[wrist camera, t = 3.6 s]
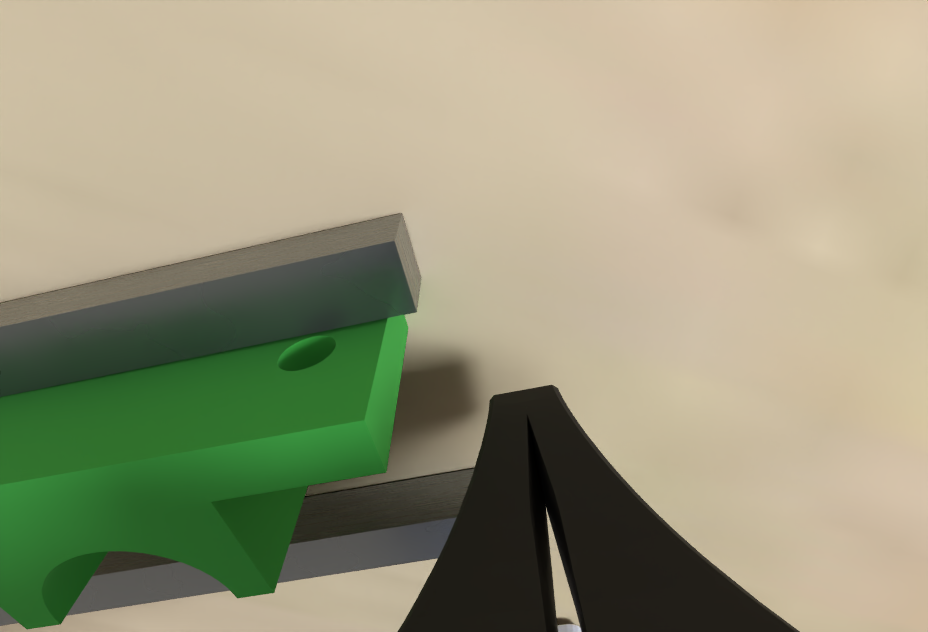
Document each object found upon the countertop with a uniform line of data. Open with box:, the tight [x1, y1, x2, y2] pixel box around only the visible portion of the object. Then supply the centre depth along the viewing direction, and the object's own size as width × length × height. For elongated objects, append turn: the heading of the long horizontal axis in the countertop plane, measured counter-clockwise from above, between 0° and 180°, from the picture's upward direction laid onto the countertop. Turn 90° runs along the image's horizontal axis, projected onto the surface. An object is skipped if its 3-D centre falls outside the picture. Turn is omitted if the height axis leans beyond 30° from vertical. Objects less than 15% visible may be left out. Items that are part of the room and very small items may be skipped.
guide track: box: [0, 213, 474, 626], centre depth 13 cm, size 9×22×2 cm, turn 103°
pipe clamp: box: [0, 315, 408, 629], centre depth 11 cm, size 11×4×5 cm, turn 102°
